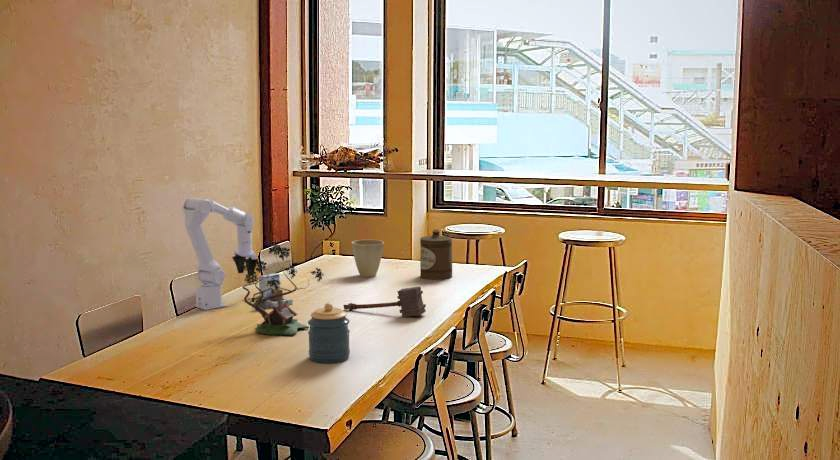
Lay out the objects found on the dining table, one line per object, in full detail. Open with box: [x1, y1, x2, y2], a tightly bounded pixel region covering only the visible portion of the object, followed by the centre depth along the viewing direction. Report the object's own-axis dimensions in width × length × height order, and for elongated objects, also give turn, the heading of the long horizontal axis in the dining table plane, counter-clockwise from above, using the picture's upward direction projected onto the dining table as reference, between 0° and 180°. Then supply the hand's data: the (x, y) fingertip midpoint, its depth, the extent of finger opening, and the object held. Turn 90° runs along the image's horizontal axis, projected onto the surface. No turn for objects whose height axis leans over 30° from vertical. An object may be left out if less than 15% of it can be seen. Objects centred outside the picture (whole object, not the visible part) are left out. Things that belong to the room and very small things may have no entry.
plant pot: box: [351, 239, 385, 278], centre depth 397 cm, size 15×15×16 cm
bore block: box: [267, 296, 294, 309], centre depth 341 cm, size 9×9×2 cm
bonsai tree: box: [235, 243, 325, 337], centre depth 296 cm, size 35×24×32 cm
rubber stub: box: [258, 297, 268, 311], centre depth 334 cm, size 3×3×4 cm
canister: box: [307, 302, 351, 364], centre depth 268 cm, size 13×13×18 cm
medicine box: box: [258, 272, 281, 298], centre depth 358 cm, size 8×4×9 cm, turn 143°
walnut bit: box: [271, 289, 284, 302], centre depth 341 cm, size 3×3×6 cm
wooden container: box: [419, 229, 453, 281], centre depth 395 cm, size 15×15×22 cm
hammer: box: [343, 286, 427, 318], centre depth 327 cm, size 7×33×10 cm, turn 70°
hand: (245, 274), depth 352 cm, fingers open, 7 cm apart
